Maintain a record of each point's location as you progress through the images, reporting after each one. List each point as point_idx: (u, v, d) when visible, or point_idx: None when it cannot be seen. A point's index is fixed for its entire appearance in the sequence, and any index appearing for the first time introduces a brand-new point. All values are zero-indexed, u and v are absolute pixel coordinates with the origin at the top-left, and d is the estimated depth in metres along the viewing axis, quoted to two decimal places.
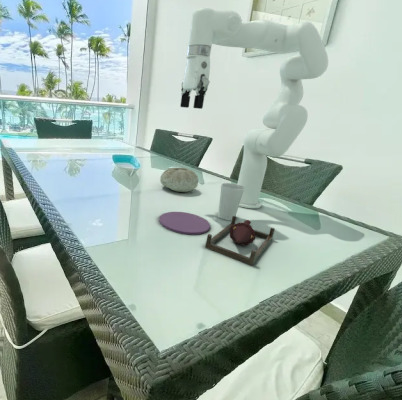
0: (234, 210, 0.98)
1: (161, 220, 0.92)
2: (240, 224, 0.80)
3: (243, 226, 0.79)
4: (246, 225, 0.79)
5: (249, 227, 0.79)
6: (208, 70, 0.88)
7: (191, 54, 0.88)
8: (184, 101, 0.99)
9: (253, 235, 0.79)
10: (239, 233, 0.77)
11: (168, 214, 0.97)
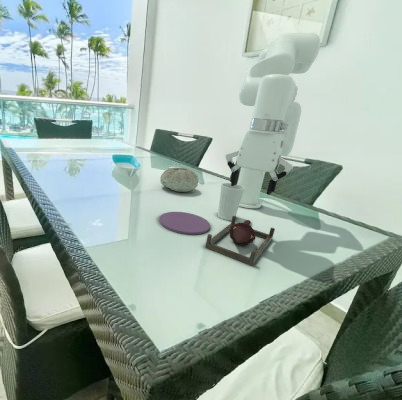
0: (234, 210, 0.98)
1: (161, 220, 0.92)
2: (240, 224, 0.80)
3: (243, 226, 0.79)
4: (246, 225, 0.79)
5: (249, 227, 0.79)
6: (282, 149, 0.71)
7: (267, 130, 0.68)
8: (235, 179, 0.78)
9: (253, 235, 0.79)
10: (239, 233, 0.77)
11: (168, 214, 0.97)
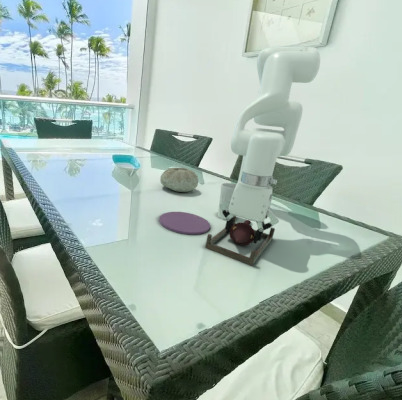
0: None
1: (161, 220, 0.92)
2: (240, 224, 0.80)
3: (243, 226, 0.79)
4: (246, 225, 0.79)
5: (249, 227, 0.79)
6: None
7: (257, 186, 0.72)
8: (230, 227, 0.82)
9: (253, 235, 0.79)
10: (239, 233, 0.77)
11: (168, 214, 0.97)
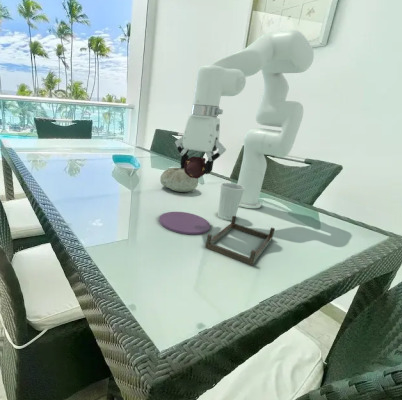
0: (234, 210, 0.98)
1: (161, 220, 0.92)
2: (193, 158, 0.85)
3: (195, 159, 0.84)
4: (198, 158, 0.84)
5: (201, 160, 0.84)
6: (219, 132, 0.81)
7: (204, 115, 0.77)
8: (184, 162, 0.87)
9: (204, 167, 0.84)
10: (190, 164, 0.82)
11: (168, 214, 0.97)
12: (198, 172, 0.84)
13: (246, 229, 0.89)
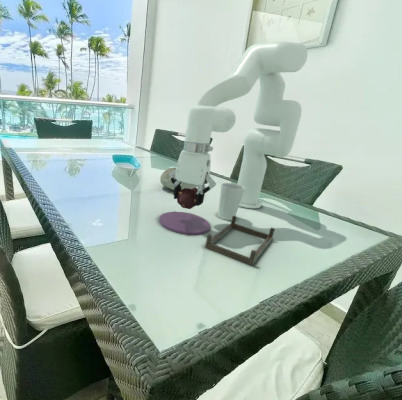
0: (234, 210, 0.98)
1: (161, 220, 0.92)
2: (185, 189, 0.89)
3: (187, 191, 0.88)
4: (190, 190, 0.88)
5: (192, 192, 0.88)
6: None
7: (195, 152, 0.81)
8: (177, 193, 0.91)
9: (196, 199, 0.88)
10: (182, 196, 0.86)
11: (168, 214, 0.97)
12: (190, 203, 0.88)
13: (246, 229, 0.89)
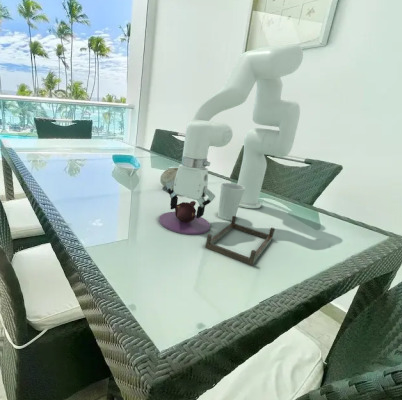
0: (234, 210, 0.98)
1: (161, 220, 0.92)
2: (183, 203, 0.91)
3: (185, 205, 0.90)
4: (188, 204, 0.90)
5: (190, 206, 0.90)
6: (207, 181, 0.86)
7: (192, 167, 0.83)
8: (174, 203, 0.93)
9: (193, 213, 0.89)
10: (180, 211, 0.88)
11: (168, 214, 0.97)
12: (188, 218, 0.89)
13: (246, 229, 0.89)
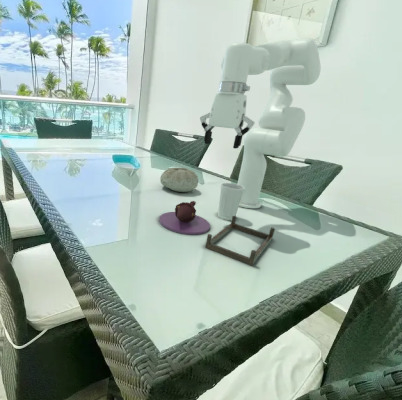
0: (234, 210, 0.98)
1: (161, 220, 0.92)
2: (183, 203, 0.91)
3: (185, 205, 0.90)
4: (188, 204, 0.90)
5: (190, 206, 0.90)
6: (245, 109, 0.84)
7: (232, 91, 0.80)
8: (208, 137, 0.91)
9: (193, 213, 0.89)
10: (180, 211, 0.88)
11: (168, 214, 0.97)
12: (188, 218, 0.89)
13: (246, 229, 0.89)
